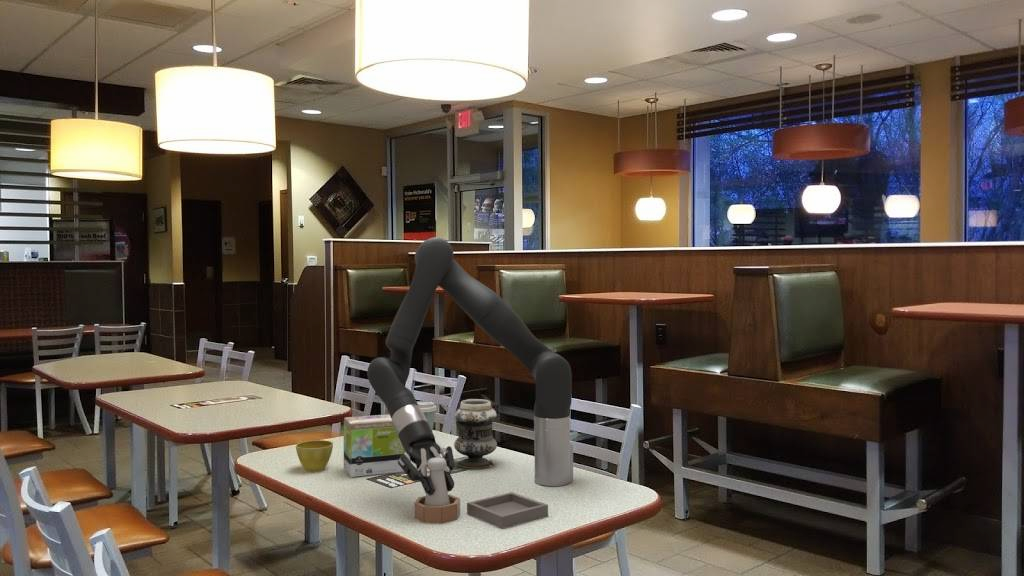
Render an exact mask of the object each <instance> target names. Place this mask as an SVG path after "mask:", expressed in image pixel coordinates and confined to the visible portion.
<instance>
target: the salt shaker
mask: <svg viewBox="0 0 1024 576" xmlns="http://www.w3.org/2000/svg"><path fill="white" fill-rule="evenodd" d="M446 466H447V463H446V460H445V459H444V458H439V457H436V458H431V459H429V460H428V462H427V470H429V473H428V476H429V477H430V480H431V482H432V484H433V486H434V488H435V492H434V493H433V495H430V496H429V495H428V493H426V492H425V493H426V494H425V496H426V498H425V504H424V505H425V506H444V505H448V504H450V500H449V496H448V494H449V491H447V486H446V481H445V475H444V469H446Z"/></svg>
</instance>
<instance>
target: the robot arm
mask: <svg viewBox="0 0 1024 576" xmlns="http://www.w3.org/2000/svg"><path fill="white" fill-rule="evenodd" d="M451 245H452V244H450V243H449V242H448V241H447V240H445V239H444V238H441V237H436V236H435V237H430V238H428V239H425V240H424V241H423V242H421V244H420V245H419V246H418V247H417V249H416V251H415V253H414V254H415V255H414V263H415V268H414V273H413V277H412V279H411V282H410V285H409V288H408V290H407V293H406V294H405V296H404V298H403V301H402V303H400V306H399V308H398V310H397V312H396V314H395V316H394V319H393V322H392V324H391V325H390V329H389V331H388V334H387V336H386V340H385V346H386V347H387V348H388V350H389V351H390V356H389V358H386V357H376V358H374V359H371V361H370V363H369V364H368V366H367V371H366V373H367V379H368V382H369V383H370V385H371V387H372V389H373V390H374V392H375V393H376V394H377V397H379V398H380V400H381V401H382V402H383V403H384V405H385V406H386V409H387V412H388V414H390V416H391V419H392V421H393V424H394V428H395V430H396V432H397V434H398V437H399V439H400V441H401V443H402V446H403V448H404V450H405V455H404V454H403V455H402V456H401V457H400V459H399V460H398V464H399V465H400V467H401V468H402V469H403V470H404V472H403V473H405V475H407V477H408V479H410V480H411V482H415V481H418V482H419V483H421V486H422V488H423V490H424V492H425V493H428V495H429V496H430V495H433V493H434V492H435V488H434V486H433V484H432V482H431V480H430V477H429V475H428V467H427V462H428V460H429V459H431V458H436V457H439V458H444V459H445V460H446V463H447V466H446V469H444V475H445V481H446V486H447V491H448V492H451V491H453V489H454V488H455V484H456V483H455V481H454V478H453V477H452V474H451V473H452V471H454V469H455V468H456V463H455V458H454V454H453V449H452V447H451V446H449V445H448V446H447V447H446V448H445V447H441V446H440V445H439V444H438V443H437V442H436V437H435V435H434V432H433V431H432V430H431V428H430V426H429V424H428V422H427V420H426V418H425V416H424V414H423V412H422V411H421V409H420V408H419V406H418V404H417V402H418V401H417V400H416V397H415V396H414V394H413V391H411V390H410V389H409V388H408V387H406V386H405V384H406V382H407V381H408V379H409V376H410V373H411V365H412V357H413V349H414V346H415V345H416V342H417V339H418V337H419V336H420V335H419V334H420V333H421V330H422V326H423V323H424V321H425V319H426V316H427V313H428V310H429V307H430V304H431V301H432V299H433V298H434V295H435V293H436V291H437V288H438V287H440V288H441V289H442V290H444V291H445V293H447V294H448V295H449V296H450V297H451V298H452V299H453V300H454V302H455V303H456V304H457V305H458V306H459V307H460V309H461V310H462V311H464V313H465V314H466V315H467V316H468V317H469V318H470V319H471V320H472V321H473V323H474V324H476V326H478V327H479V328H480V329H481V330H482V331H483V332H484V333H485V334H486V335H487V336H489V337H490V338H491V339H492V340H493V341H494V342H496V343H497V344H499V345H500V346H501V347H503V348H504V349H505V350H507V351H508V352H510V353H511V354H513V356H515V358H516V359H517V360H518V361H519V362H520V363H521V365H523V367H525V368H526V370H527V371H528V372H529V374H530V375H531V376H532V377H533V379H534V381H535V403H534V405H533V423H534V425H533V429H534V434H533V436H534V439H533V440H534V444H533V445H534V482H535V483H536V484H538V485H541V486H546V487H560V486H566V485H568V484H570V483H571V482H572V481H574V445H573V443H571V422H570V420H571V407H572V393H573V392H572V391H573V390H572V385H573V383H572V382H573V381H572V380H573V379H572V378H573V377H572V375H573V374H572V369H571V365H570V363H569V362H568V361H567V359H565V358H564V357H563V356H561V355H560V354H558V353H556V352H555V351H553V350H552V349H550V348H549V347H548V346H547V345H546V344H544V343H543V342H541V340H539V339H538V338H537V337H536V336H535V335H534V334H533V333H532V332H531V331H530V329H529V328H528V326H527V325H526V324H525V322H524V321H523V320H522V318H521V317H520V316H519V314H517V312H516V311H515V310H514V309H513V308H512V307H511V306H510V305H509V304H508V303H507V302H506V301H505V300H504V299H503V298H502V297H501V296H500V295H499V294H498V293H496V292H495V291H494V290H493V289H491V288H489V287H488V286H486V285H485V284H483V283H482V282H481V281H478V280H477V279H475V278H474V277H472V276H471V275H470V274H469V273H468V272H467V271H465V269H463V268H462V266H461V265H460V264H459V263H458V262H457V260H455V259H454V256H455V255H454V250H453V247H452V246H451Z"/></svg>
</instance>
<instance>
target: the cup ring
mask: <svg viewBox="0 0 1024 576" xmlns="http://www.w3.org/2000/svg"><path fill="white" fill-rule="evenodd" d="M448 496H449V500H450V504H448V505H444V506H425V505H424V504H425V498H426V495H422V496H419V497H417V499H416V500H415V501H414V502H413V503H414V508H413V509H414V519H416V520H417V521H419V522H421V523H424V524H425V523H426V524H444V523H447V522H452V521H456V520H458V518H459V517H460V515H461V499H460V497H457V496H455V495H452V494H449V493H448Z"/></svg>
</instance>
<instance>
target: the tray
mask: <svg viewBox="0 0 1024 576" xmlns="http://www.w3.org/2000/svg"><path fill="white" fill-rule="evenodd" d="M466 514H467V515H469V516H470V517H474V518H477V519H479V520H481V521H484V522H486V523H488V524H491V525H493V526H495V527H498V528H500V529H506V528H509V527H512V526H516V525H520V524H524V523H528V522H531V521H534V520H538V519H541V518H542V519H543V518H545V517H548V516H549V504H547V503H544V502H541V501H538V500H535V499H533V498H530V497H528V496H524V495H521V494H519V493H516V492H513V491H509V492H505V493H501V494H498V495H494V496H489V497H486V498H482V499H477V500H473V501H468V502H466Z"/></svg>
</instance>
